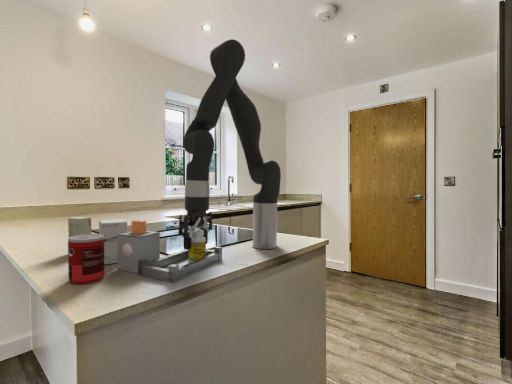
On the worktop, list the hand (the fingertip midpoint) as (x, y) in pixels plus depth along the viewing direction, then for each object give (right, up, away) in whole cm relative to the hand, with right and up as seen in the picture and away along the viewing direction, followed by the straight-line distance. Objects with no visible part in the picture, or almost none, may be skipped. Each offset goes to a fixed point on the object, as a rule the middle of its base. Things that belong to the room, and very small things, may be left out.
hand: (196, 246), depth 88 cm
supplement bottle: (0, -5, 0) cm, 5 cm away
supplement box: (-26, -5, -1) cm, 26 cm away
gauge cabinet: (-15, -5, -7) cm, 17 cm away
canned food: (-24, -5, -17) cm, 30 cm away
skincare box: (-41, -4, +7) cm, 42 cm away
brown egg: (-15, +2, -7) cm, 17 cm away
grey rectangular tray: (-2, -5, -5) cm, 8 cm away
